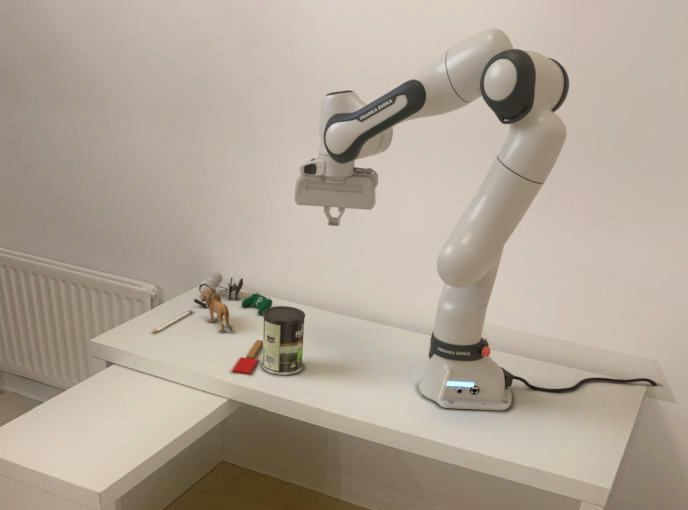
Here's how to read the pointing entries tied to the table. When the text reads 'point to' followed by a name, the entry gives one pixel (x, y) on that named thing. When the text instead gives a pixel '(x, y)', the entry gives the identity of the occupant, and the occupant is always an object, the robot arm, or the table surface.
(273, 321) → the coffee can
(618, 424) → the table surface
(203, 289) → the clip-on lamp
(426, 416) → the table surface
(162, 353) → the table surface
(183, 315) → the pencil
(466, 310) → the robot arm
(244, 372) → the spatula
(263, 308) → the gaming controller
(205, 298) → the lion figurine
